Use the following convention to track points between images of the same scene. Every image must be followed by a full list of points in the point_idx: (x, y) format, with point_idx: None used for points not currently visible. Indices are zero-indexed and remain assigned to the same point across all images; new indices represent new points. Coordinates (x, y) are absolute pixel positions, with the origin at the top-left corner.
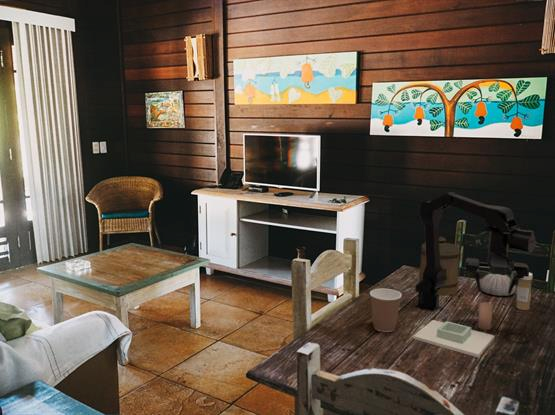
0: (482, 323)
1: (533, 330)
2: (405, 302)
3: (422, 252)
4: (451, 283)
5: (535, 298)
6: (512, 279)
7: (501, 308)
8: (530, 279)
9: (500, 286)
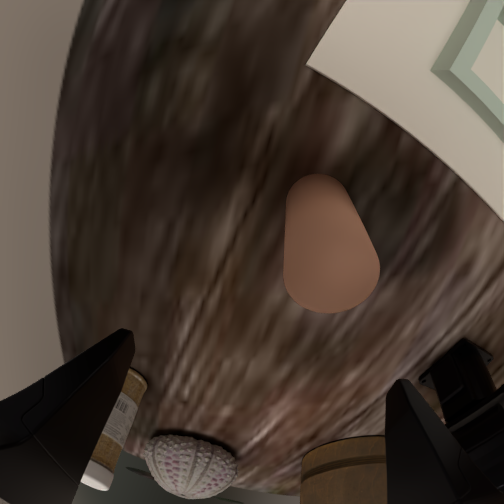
0: (342, 189)
1: (98, 203)
2: (496, 376)
3: None
4: (335, 473)
5: None
6: (22, 443)
7: (194, 380)
8: None
9: (182, 460)
